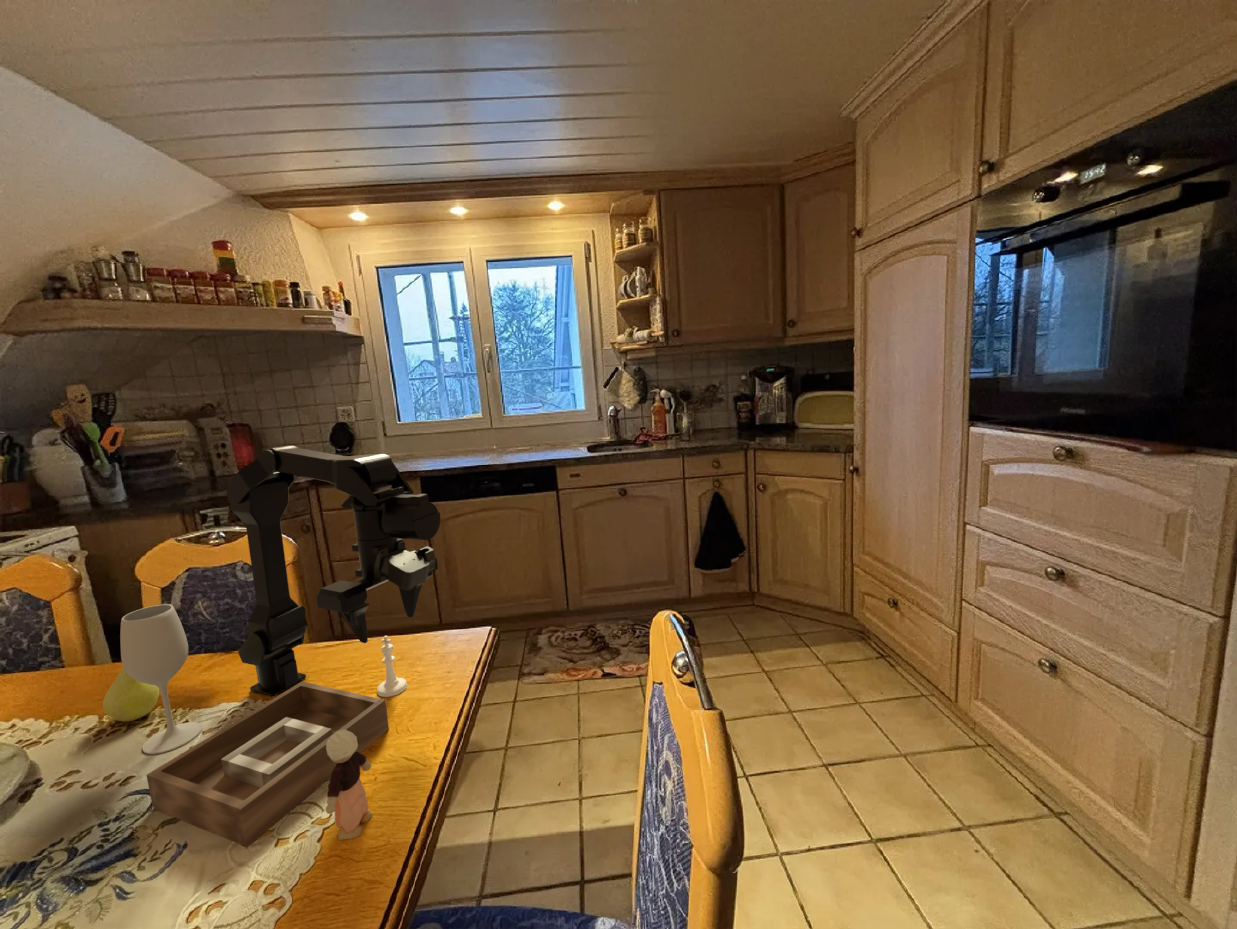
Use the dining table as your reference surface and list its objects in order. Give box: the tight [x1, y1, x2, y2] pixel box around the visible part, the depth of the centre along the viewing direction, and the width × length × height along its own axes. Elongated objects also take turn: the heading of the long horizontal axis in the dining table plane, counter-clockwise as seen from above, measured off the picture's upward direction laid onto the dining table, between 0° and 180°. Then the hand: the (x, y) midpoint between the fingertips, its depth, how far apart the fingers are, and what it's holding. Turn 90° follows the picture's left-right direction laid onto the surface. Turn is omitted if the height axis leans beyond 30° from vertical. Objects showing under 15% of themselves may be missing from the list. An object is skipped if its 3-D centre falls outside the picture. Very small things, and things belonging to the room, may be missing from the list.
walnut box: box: [146, 681, 390, 848], centre depth 75 cm, size 18×22×5 cm
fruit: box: [102, 666, 160, 722], centre depth 88 cm, size 7×8×12 cm
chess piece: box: [376, 635, 408, 698], centre depth 92 cm, size 5×5×10 cm
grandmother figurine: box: [325, 729, 373, 841], centre depth 63 cm, size 8×4×13 cm, turn 5°
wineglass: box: [119, 603, 203, 755], centre depth 81 cm, size 8×8×21 cm
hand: (388, 629), depth 84 cm, fingers open, 9 cm apart
